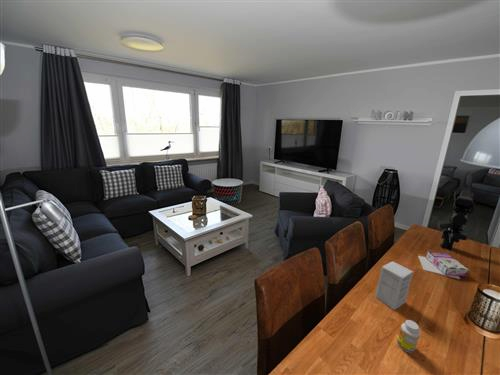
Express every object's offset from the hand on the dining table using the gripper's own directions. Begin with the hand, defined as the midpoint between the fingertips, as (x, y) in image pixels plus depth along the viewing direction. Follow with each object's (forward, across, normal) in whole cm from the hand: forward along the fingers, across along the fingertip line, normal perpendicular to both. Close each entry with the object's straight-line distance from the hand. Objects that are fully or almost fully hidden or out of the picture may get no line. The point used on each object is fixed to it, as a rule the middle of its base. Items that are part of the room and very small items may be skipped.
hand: (450, 243), depth 135 cm
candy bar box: (+10, 0, -5) cm, 11 cm away
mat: (+12, +10, -6) cm, 17 cm away
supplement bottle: (+11, +78, -29) cm, 84 cm away
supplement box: (+11, +54, -33) cm, 64 cm away
